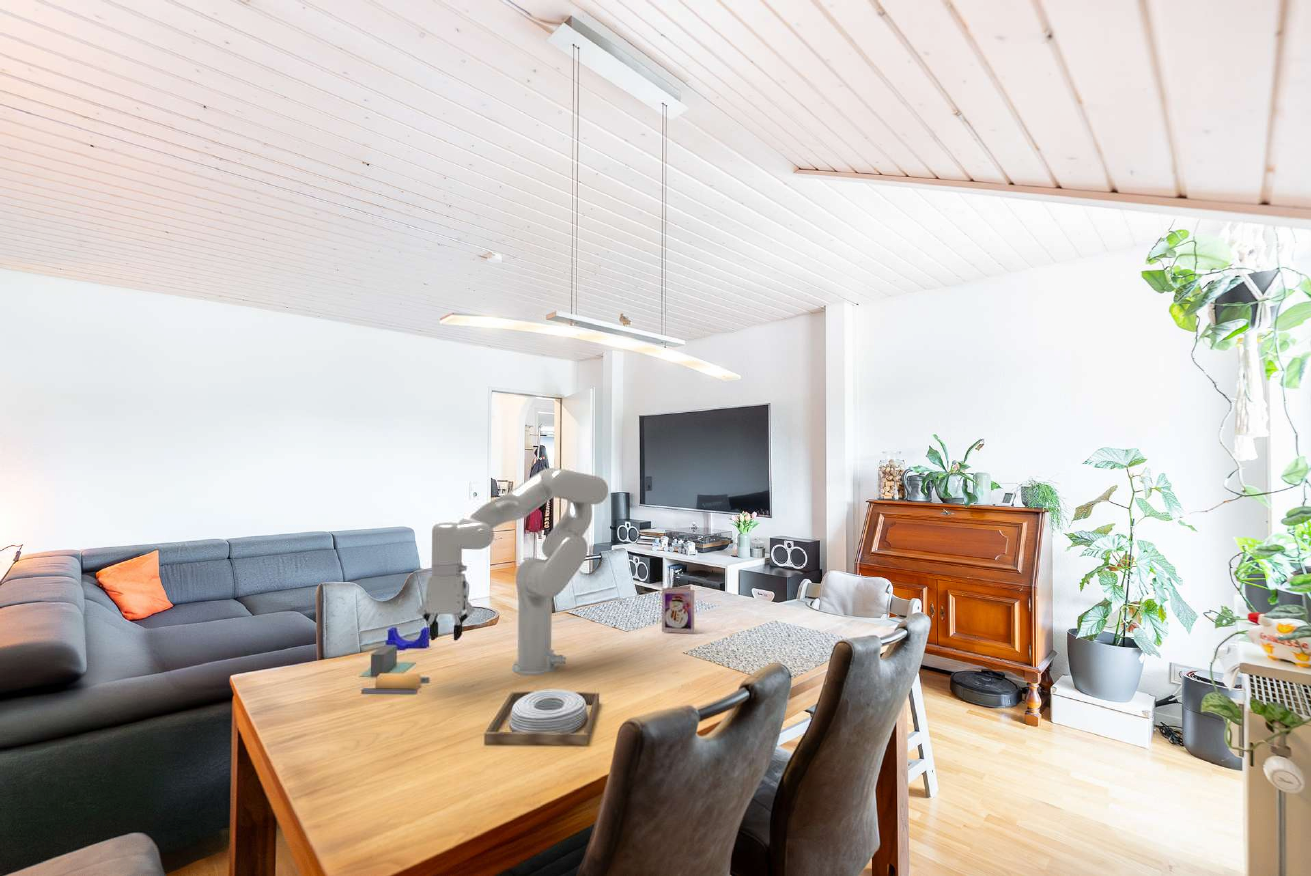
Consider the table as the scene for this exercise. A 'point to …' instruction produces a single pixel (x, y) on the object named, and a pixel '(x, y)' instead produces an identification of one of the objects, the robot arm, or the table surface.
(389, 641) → the cable clip
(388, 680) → the tan cylinder
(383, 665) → the block
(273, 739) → the table surface
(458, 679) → the table surface
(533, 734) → the cable tray
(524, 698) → the cable
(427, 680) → the channel
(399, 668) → the pad
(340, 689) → the table surface
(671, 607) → the greeting card
